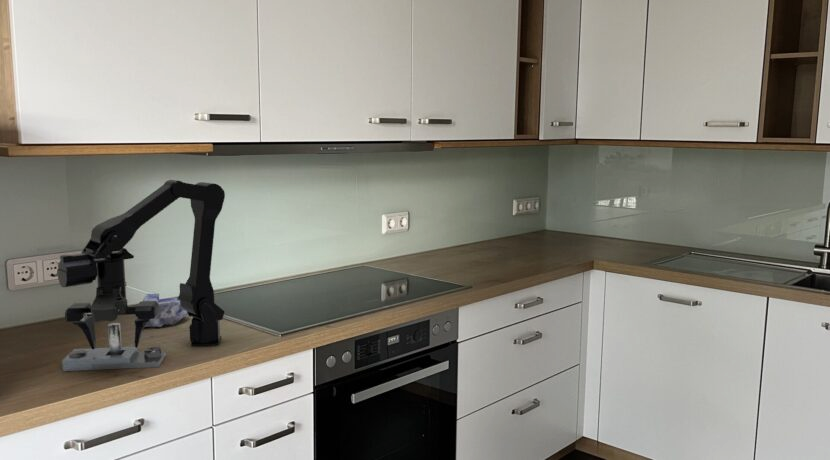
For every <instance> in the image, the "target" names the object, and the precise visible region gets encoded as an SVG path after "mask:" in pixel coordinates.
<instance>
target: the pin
mask: <svg viewBox="0 0 830 460" xmlns="http://www.w3.org/2000/svg"><path fill="white" fill-rule="evenodd" d="M107 329H108V330H107V331H108V332H107V333H108V348H109V350H110V355H122V348H121V347H122V333H121V331H122V330H121V323H119V322H113V323H111V322H110V323H109V324H108V325H107Z"/></svg>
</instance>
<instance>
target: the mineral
mask: <svg viewBox="0 0 830 460" xmlns="http://www.w3.org/2000/svg"><path fill="white" fill-rule="evenodd" d="M142 301H156V302H157V303H158V304H159V313H158V314H157V316H156V317H155V318H153V319H151V320H150V321H149V322H146V325H145V327H144V328H146V327H148V328H149V327H151V328H155V327H159V328H162V327H163V326H164V325H167V326H173V325H175V324H176V323H178V322H179V321H181V320H182V319H183V318H184V319H185V317H187V315H188V313H187V311H186V310H184V309H183V308H182V306H181V304H180V300H179V299H178V297H171V298H160V293H146V294H145V296H144V297H143V298H142ZM188 316H189V315H188ZM135 327H136V326H135Z"/></svg>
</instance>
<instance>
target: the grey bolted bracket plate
mask: <svg viewBox="0 0 830 460" xmlns="http://www.w3.org/2000/svg"><path fill="white" fill-rule="evenodd" d="M121 348H122V355H110V350H109V347H95V349H92V348H91V347H90V348H74V349H72V351H70V352H68V354H67V355H66V356H65V357H64V358H63V359H62V360H61V361H62V362H61V363H62V371H63V372H71V371H72V372H74V371H75V372H76V371H95V370H97V371H99V370H118V369H119V370H121V369H143V368H145V369H146V368H159V367H160V366H161V364H162V362H163V361H164V359H165V357H166V354H167V353H166V350H162V348H161V347H157V346H151V347H148V348H145V349H144V350H143V351H139V346H138V347H137V348H135V346H121Z"/></svg>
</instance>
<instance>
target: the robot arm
mask: <svg viewBox="0 0 830 460" xmlns="http://www.w3.org/2000/svg"><path fill="white" fill-rule="evenodd" d="M225 195H226V193H225V189H223V188H222V186H220V185H219V184H217V183H212V182H203V181H202V182H197V183H195V184H194V183H187V182H183V181H182V180H178V179H176V180H175V179H169V180H166V181H165V182H164V183H163V184H162V185H161V186H160V187H158V188H157V189H156V190H154V191H153V192H151V193H150V194H149V195H148V196H146V197H145V198H143V199H142V200H140V201H139V202H138V203H136V204H135V205H133V206H132V207H131V208H130V209H128V210H126V212H124V213H122V214H120V215H117V216H114V217H111V218H108V219H107V220H104V221H103V222H100V223H99V224H97V225H95V226H94V227H93V228H92V229H91V234H90V238H89V241H88V242H87V243H86V244H85V247H84V248H83V249H82V251H81V253H77V254H61V255H59V258H60V259H59V260H60V261H59V262H58V266H57V270H56V275H57V279H58V282H59V285H60V286H61V288H70V287H76V286H81V285H89V284H93V282H94V281H96V283H97V286H96V292H95V293H96V294H95V298H94V299H93V302H92V304H91V303H90V302H82V303H81V302H75V303H73V304H72V305H70V306H69V307H68V308H67V309H65V312H64V319H65V322H71V323H72V325H73V326H77V327H78V328H80V329H81V331H82V332H83V333H84V336H85V337H86V341H88V344H89V345H90V346H89V347H90V348H92V349H95V348H96V342H97V341H96V331H95V322H97V323H99V322H101V321H102V322H105V321H108V322H113V321H114V322H115V320H117V319H118V316H120V315H121V316H123V315H124V316H127V315H135V317H136V319H135V320H134V325H135V326H136V327H135V328H134V329H135V331H134V333H135V334H134V347H135V348H137V347H138V348H139V345H140V341H141V339H142V335H143V333H144V330H145V328H146V327H145V325H146V322H149V321H150V320H151V319H153V318H155V317H156V316H157V314H158V313H159V304H158V303H157V302H156V301H143V300H141V301H139V302H138V304H137V305H128V299H127V291H126V290H127V289H126V288H127V281H126V269H125V260H130V259H135V255H134V254H132V253H130V252H129V251H128V250H127V248H125V246H127V244H129V242H130V241H131V240H132V239H133V238H134V236H135V235H136V232H137V231H138V230H139V229H140V228H141V227H142V226H143V225H144V224H146V223H147V222H149V221H150V220H151V219H153V218H154V217H155V216H157V215H158V214H159V213H161V212H162V211H163V210H164V209H166V208H167V207H168V206H170V205H171V204H172V203H174V202H175V201H177V200H178V199H180V198H183V199H189V200H190V207H191V208H190V209H191V211H192V213H193V217H194V224H193V225H194V227H193V237H192V246H191V257H190V267H189V268H190V269H189V270H190V271H189V277H188V279H186V282H185V283H182V282H179V295H178V297H177V298H178V299H179V300H180V304H181V306H182V308H183V309H184V310H186V311H187V313H188V317H191V318H192V319H191V323H190V324H189V327H188V328H189V341H190V342H191V343H190V346H191V347H200V346H203V347H204V346H219V344H220V342H221V339H222V335H221V326H220V325H221V323H220V321H222V320H223V319H224V316H225V315H224V314H225V310H224V309H222V308H221V307H220V306H218V304H216V302H215V301H216V300H215V290H214V286H213V285H212V281H211V271H212V270H211V267H212V260H213V259H212V257H213V250H214V249H213V248H214V239H215V226H216V221H217V218H218V216H220V213H221V211H222V209H223V206H224V202H225V199H226V198H225V197H226V196H225Z"/></svg>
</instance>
